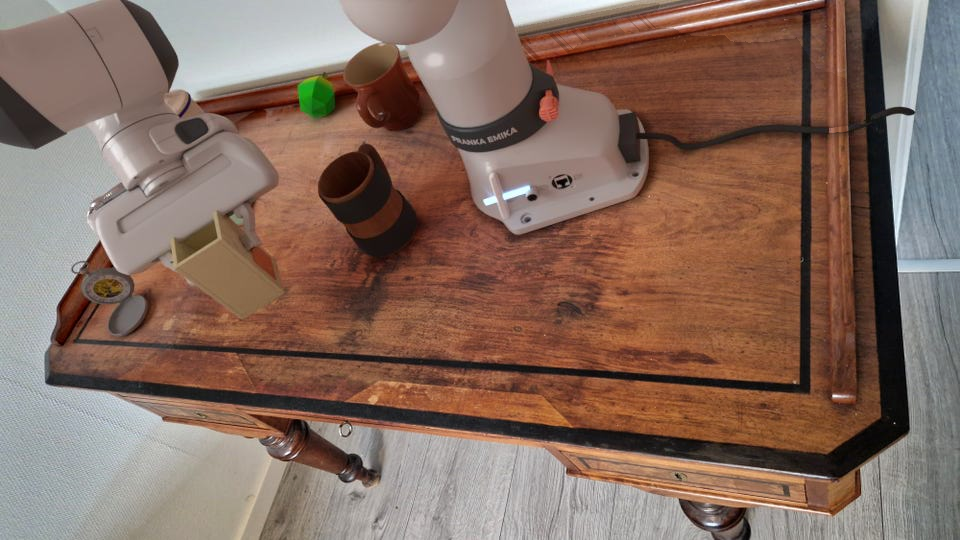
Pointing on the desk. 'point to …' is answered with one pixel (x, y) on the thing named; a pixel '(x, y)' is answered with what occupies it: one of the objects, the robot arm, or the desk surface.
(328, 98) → the apple
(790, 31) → the desk surface
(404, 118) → the mug
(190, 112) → the teacup with lid
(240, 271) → the bin
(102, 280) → the pocket watch
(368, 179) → the mug
